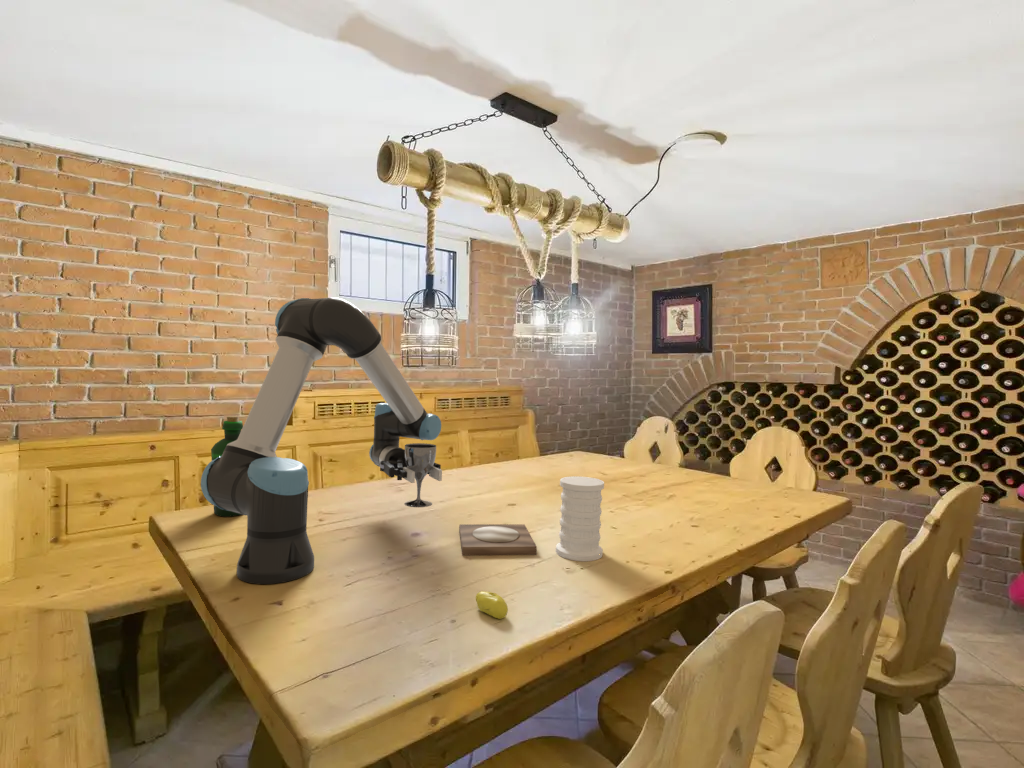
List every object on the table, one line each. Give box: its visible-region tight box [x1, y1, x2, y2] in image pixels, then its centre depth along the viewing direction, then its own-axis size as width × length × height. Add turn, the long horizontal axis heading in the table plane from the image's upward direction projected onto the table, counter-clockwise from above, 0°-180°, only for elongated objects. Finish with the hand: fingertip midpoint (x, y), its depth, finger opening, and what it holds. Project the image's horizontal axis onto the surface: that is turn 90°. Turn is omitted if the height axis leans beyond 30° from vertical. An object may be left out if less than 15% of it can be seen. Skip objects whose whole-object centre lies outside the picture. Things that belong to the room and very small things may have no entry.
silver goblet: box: [403, 442, 437, 508], centre depth 137 cm, size 8×8×15 cm
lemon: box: [475, 590, 509, 620], centre depth 99 cm, size 4×8×4 cm, turn 38°
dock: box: [458, 523, 537, 556], centre depth 138 cm, size 18×18×2 cm
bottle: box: [210, 415, 244, 517], centre depth 154 cm, size 11×11×28 cm
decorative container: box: [555, 475, 605, 562], centre depth 133 cm, size 12×12×18 cm
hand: (427, 476), depth 132 cm, fingers closed on silver goblet, 6 cm apart
